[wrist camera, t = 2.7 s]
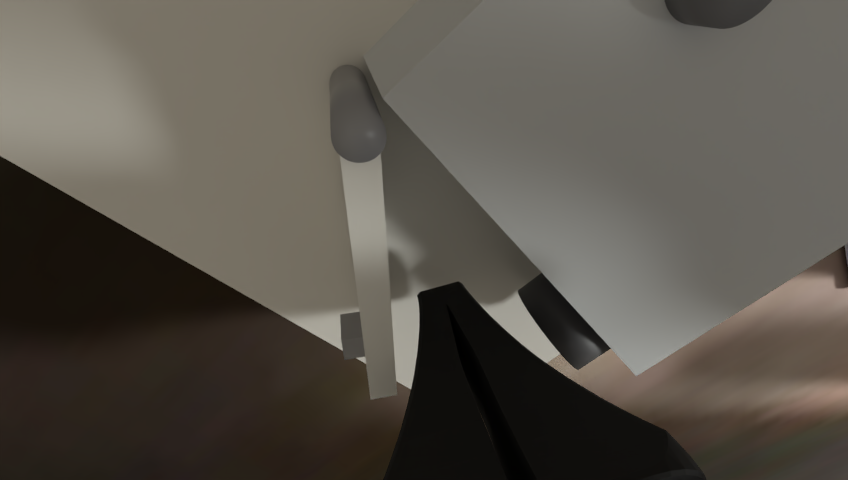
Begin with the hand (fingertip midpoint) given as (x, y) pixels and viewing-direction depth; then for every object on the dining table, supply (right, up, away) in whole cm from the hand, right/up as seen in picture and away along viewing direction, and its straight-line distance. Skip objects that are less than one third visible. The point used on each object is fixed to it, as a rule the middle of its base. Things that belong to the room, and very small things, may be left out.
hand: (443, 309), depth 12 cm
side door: (-3, +3, -1) cm, 4 cm away
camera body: (+4, +6, -1) cm, 7 cm away
